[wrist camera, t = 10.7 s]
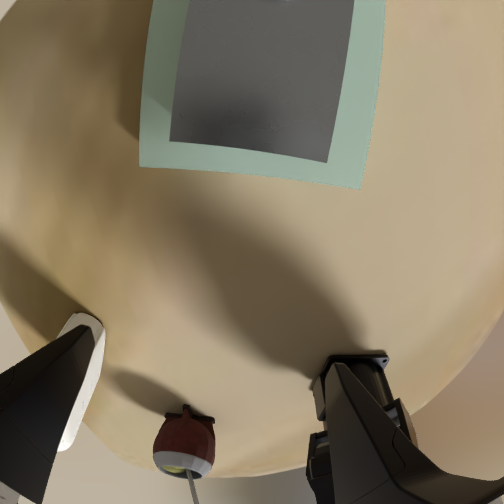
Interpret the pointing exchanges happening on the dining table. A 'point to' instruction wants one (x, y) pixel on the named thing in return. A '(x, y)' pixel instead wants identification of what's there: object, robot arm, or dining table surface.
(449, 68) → the dining table surface
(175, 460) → the mate gourd
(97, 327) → the photo printer
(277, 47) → the graphite housing
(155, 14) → the sage stand
